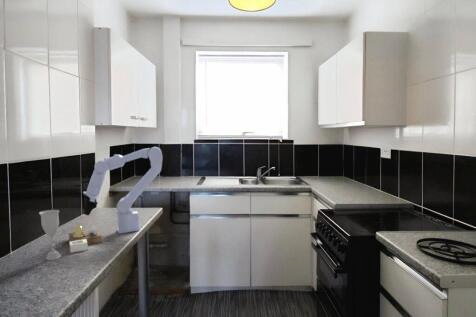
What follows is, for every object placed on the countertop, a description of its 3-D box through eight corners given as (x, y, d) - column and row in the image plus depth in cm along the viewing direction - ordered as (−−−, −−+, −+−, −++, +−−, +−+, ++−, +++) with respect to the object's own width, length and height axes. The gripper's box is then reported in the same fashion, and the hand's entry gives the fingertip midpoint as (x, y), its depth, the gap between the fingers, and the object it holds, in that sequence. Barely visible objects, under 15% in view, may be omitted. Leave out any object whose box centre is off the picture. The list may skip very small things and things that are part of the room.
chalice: (67, 255, 142) (63, 210, 141) (53, 261, 136) (49, 214, 134) (53, 253, 144) (49, 209, 143) (38, 260, 138) (34, 213, 137)
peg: (85, 240, 160) (83, 224, 159) (85, 242, 156) (84, 226, 155) (73, 241, 158) (72, 226, 157) (74, 244, 154) (72, 228, 153)
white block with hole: (86, 245, 153) (86, 238, 153) (87, 249, 148) (87, 242, 147) (70, 248, 150) (69, 241, 150) (70, 252, 145) (69, 245, 145)
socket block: (98, 235, 169) (98, 228, 168) (101, 242, 157) (101, 235, 157) (69, 239, 163) (68, 233, 163) (70, 247, 152) (69, 240, 151)
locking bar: (95, 228, 168) (95, 224, 168) (97, 234, 158) (97, 230, 158) (82, 230, 166) (82, 226, 165) (84, 236, 156) (83, 232, 156)
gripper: (85, 179, 175) (76, 206, 175) (87, 186, 162) (77, 214, 162) (100, 183, 178) (91, 209, 178) (103, 190, 165) (93, 218, 165)
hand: (86, 212), depth 170 cm, fingers open, 7 cm apart
